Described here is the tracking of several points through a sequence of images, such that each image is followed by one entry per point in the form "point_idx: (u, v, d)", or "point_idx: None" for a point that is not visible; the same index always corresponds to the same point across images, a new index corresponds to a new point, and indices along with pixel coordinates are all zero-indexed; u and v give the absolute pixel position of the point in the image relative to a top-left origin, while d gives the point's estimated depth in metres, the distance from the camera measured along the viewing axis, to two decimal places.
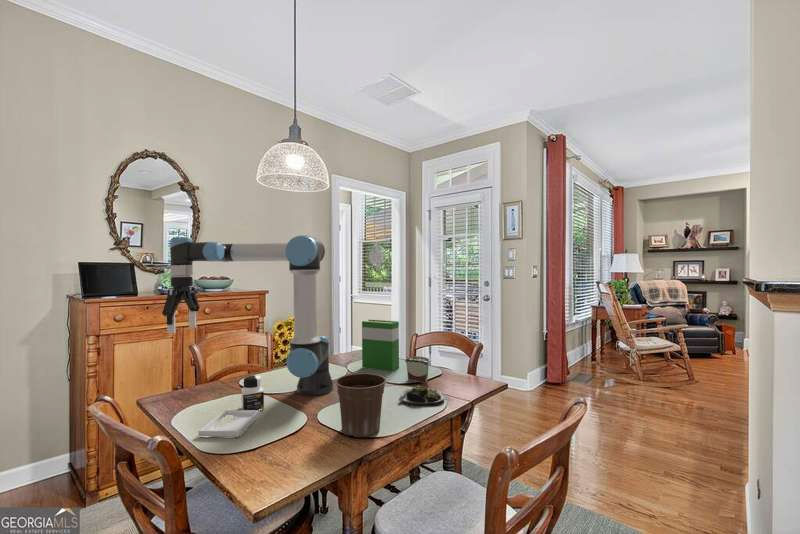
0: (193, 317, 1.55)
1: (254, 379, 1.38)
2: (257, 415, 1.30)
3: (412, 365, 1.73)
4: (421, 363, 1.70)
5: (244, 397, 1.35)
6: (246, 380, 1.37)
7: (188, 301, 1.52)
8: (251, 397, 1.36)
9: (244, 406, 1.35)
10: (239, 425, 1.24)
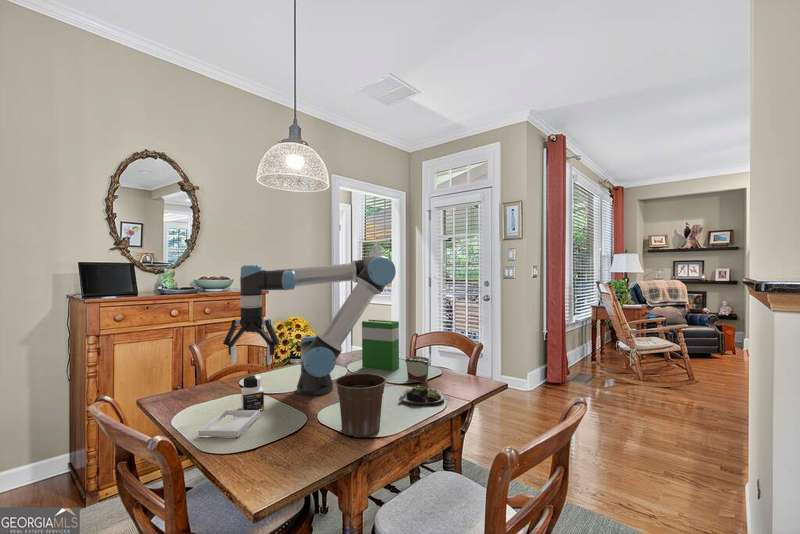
0: None
1: (254, 379, 1.38)
2: (257, 415, 1.30)
3: (412, 365, 1.73)
4: (421, 363, 1.70)
5: (244, 397, 1.35)
6: (246, 380, 1.37)
7: None
8: (251, 397, 1.36)
9: (244, 406, 1.35)
10: (239, 425, 1.24)
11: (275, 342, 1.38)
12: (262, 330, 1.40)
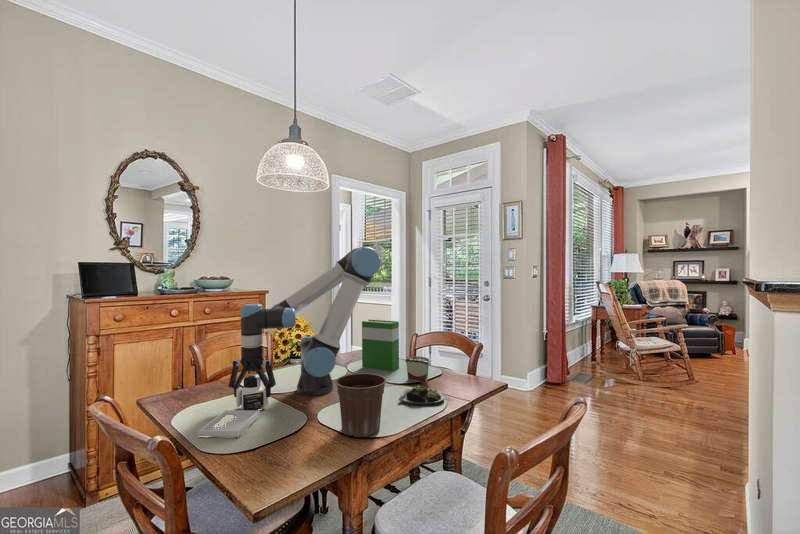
0: None
1: (254, 379, 1.38)
2: (257, 415, 1.30)
3: (412, 365, 1.73)
4: (421, 363, 1.70)
5: (244, 397, 1.35)
6: (246, 380, 1.37)
7: None
8: (251, 397, 1.36)
9: (244, 406, 1.35)
10: (239, 425, 1.24)
11: (271, 384, 1.38)
12: (261, 370, 1.40)
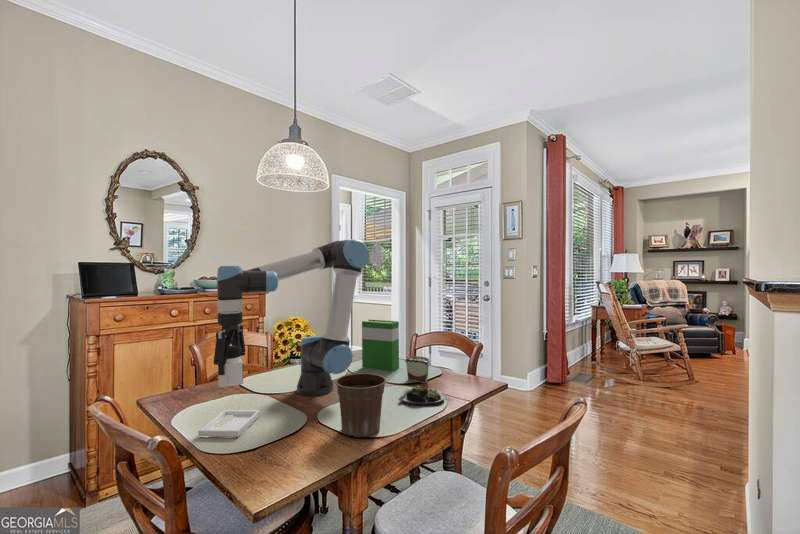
0: None
1: (238, 347, 1.26)
2: (257, 415, 1.30)
3: (412, 365, 1.73)
4: (421, 363, 1.70)
5: (242, 366, 1.23)
6: (236, 349, 1.23)
7: (235, 342, 1.27)
8: None
9: None
10: (239, 425, 1.24)
11: (244, 349, 1.32)
12: None
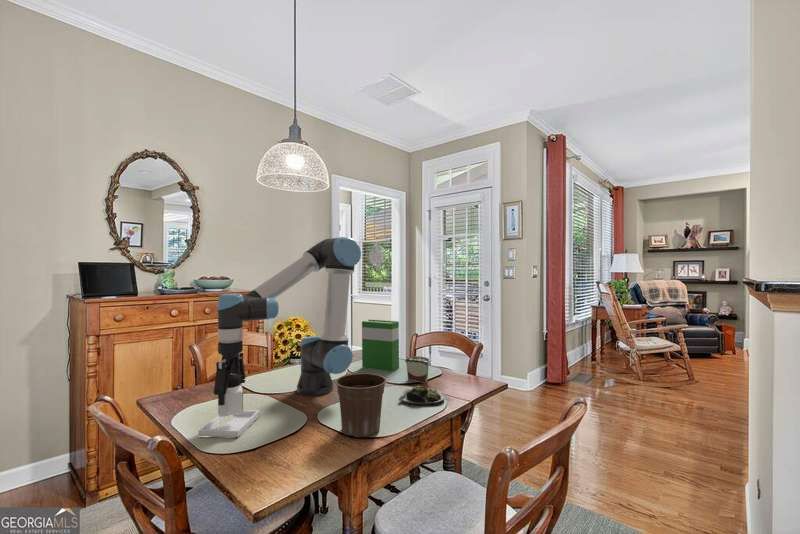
0: None
1: (238, 375, 1.26)
2: (257, 415, 1.30)
3: (412, 365, 1.73)
4: (421, 363, 1.70)
5: None
6: (236, 378, 1.23)
7: (235, 370, 1.27)
8: None
9: None
10: (239, 425, 1.24)
11: (244, 376, 1.32)
12: None
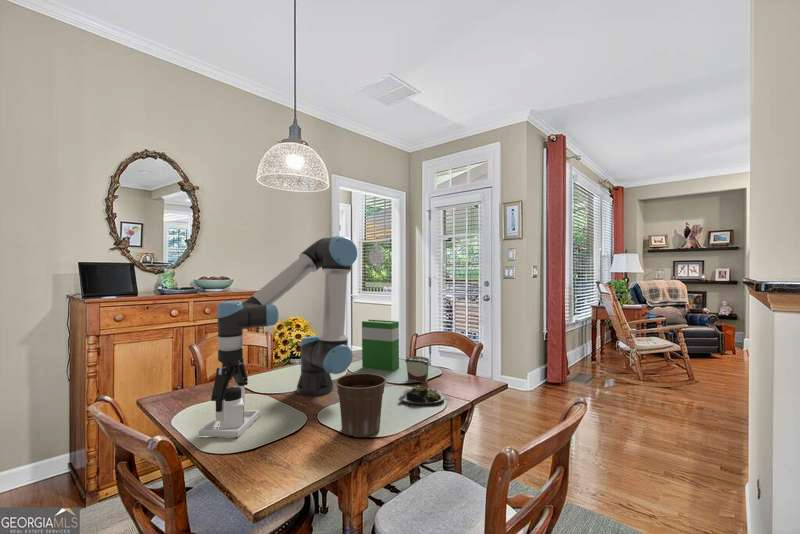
0: (241, 393, 1.31)
1: (239, 387, 1.26)
2: (257, 415, 1.30)
3: (412, 365, 1.73)
4: (421, 363, 1.70)
5: (243, 408, 1.24)
6: (237, 391, 1.24)
7: (237, 375, 1.28)
8: None
9: (243, 417, 1.24)
10: None
11: (247, 378, 1.34)
12: None
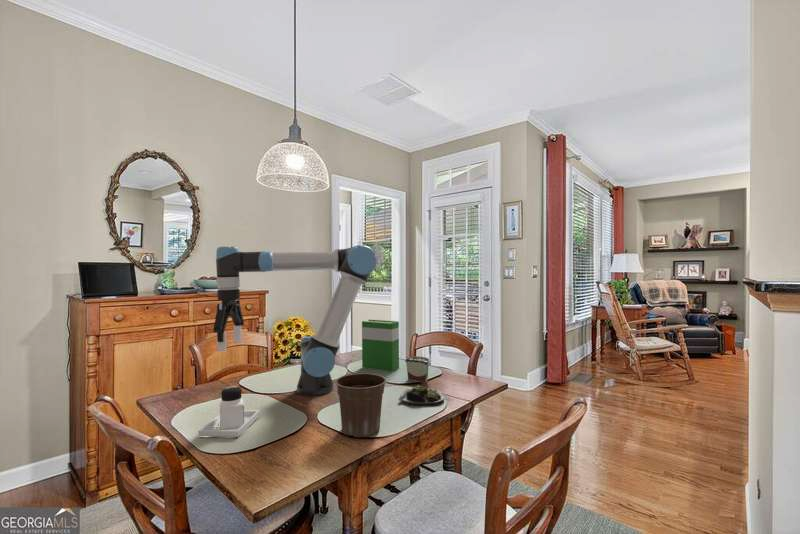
0: (238, 332, 1.44)
1: (239, 387, 1.26)
2: (257, 415, 1.30)
3: (412, 365, 1.73)
4: (421, 363, 1.70)
5: (243, 408, 1.24)
6: (237, 391, 1.24)
7: (234, 315, 1.42)
8: None
9: (243, 417, 1.24)
10: None
11: (243, 320, 1.47)
12: None
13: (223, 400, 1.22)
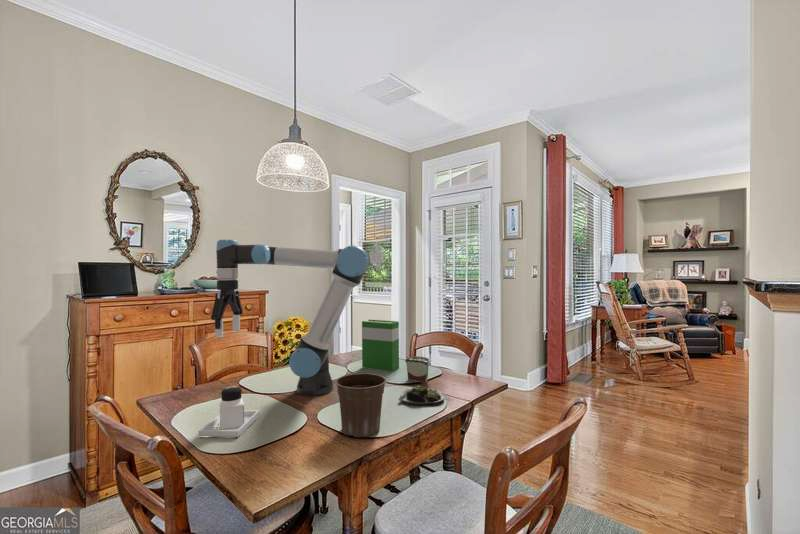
0: (237, 321, 1.53)
1: (239, 387, 1.26)
2: (257, 415, 1.30)
3: (412, 365, 1.73)
4: (421, 363, 1.70)
5: (243, 408, 1.24)
6: (237, 391, 1.24)
7: (233, 304, 1.50)
8: None
9: (243, 417, 1.24)
10: None
11: (242, 310, 1.56)
12: None
13: (223, 400, 1.22)
